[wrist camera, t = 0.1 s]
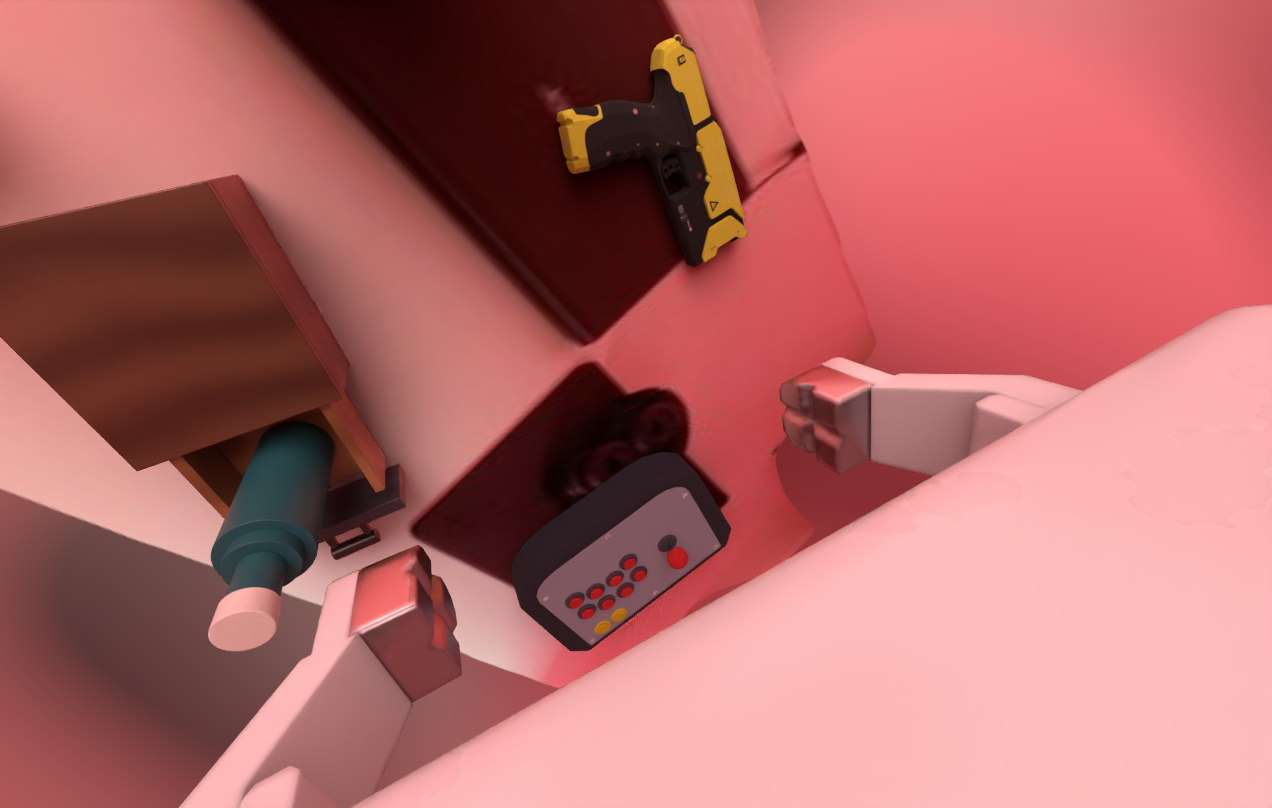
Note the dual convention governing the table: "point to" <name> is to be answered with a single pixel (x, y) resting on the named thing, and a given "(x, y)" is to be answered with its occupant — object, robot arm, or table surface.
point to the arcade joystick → (618, 550)
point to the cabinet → (167, 319)
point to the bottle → (270, 531)
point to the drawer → (345, 506)
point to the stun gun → (666, 150)
